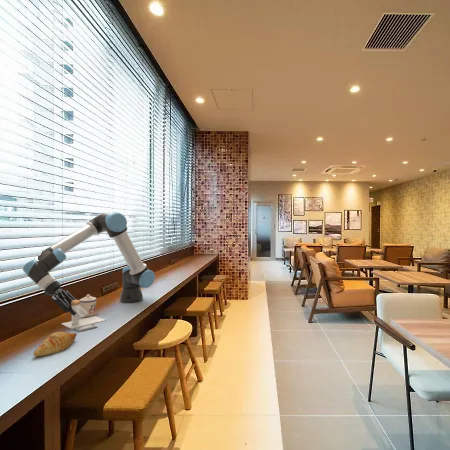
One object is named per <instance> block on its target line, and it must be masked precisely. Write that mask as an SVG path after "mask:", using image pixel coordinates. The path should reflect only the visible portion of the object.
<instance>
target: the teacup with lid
mask: <svg viewBox="0 0 450 450" xmlns="http://www.w3.org/2000/svg"><path fill="white" fill-rule="evenodd" d="M79 300H80V304H79V305H80V306H81V307H82V308H83V309H84V310H85V311H86V312H87V314H86V315H85V316H84V317H83V318H88V317H93V316H96V315H97V301H98V300H97V297H95V296H92V295H91V294H89V293H88V294H86V296H84V297H82V298H80V299H79Z"/></svg>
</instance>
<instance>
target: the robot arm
mask: <svg viewBox="0 0 450 450" xmlns="http://www.w3.org/2000/svg"><path fill="white" fill-rule="evenodd" d="M127 224H128V220H127V218H126V216H125V215H124V214H123V213H120V212H116V211H112V212H103V213H101V214H100V213H99V214H98V215H97V216H95V217H93V218H92V219H90V220H89V221H87V222H86V224H85V225H84V226H82V227H81V228H79V229H77V230H75V231H74V232H72V233H70V234H68V235H67V236H66V237H64V238H62V239H60V240H59V241H57V242H55V243H54V244H52V245H50V246H48V247H47V248H45V249H43V250H41V251H42V253H41V255H40V256H38V260H39V261H36V260H35V259H31V260H30V261H28V262H26V263H25V264H24V266H23V267H22V271H23V272H24V273H25V274H26V276H27V277H28V278H29V279H31V280H32V281H33V282H34V283H35V284H36V285H37V286H38V288H39V289H41V290H42V291H44V293H45V294H46V295H47V296H48V297H49V296H52V297H51V298H50V299H51V300H52V301H53V302H54V303H55V304H56V305H57V306H59V308H60V309H61V310H63V312H65V313H66V314H68V313H70V314H71V316H72V315H73V316H74V317H75V318H76V319H77V320H78V321H79V320H80V319H83V318H85V317H84V316H85V315H86V314H87V312H86V311H85V310H84V309H83V308H82V307H81V306H80V304H79V312H78V311H77V310H75V309H74V308H72V305H71V301H73V300H77V298H75V296H73V295H72V293H70V292H69V290H67V289H63V288H61V287H62V283H60V281H58V280H56V278H55V277H54V276H53V275H52V274H51V273H50V272H51V271H52V270H53V269H55V268H56V267H57V266H59V265H61V264H62V263H63V262H64V261H65V260H67V254H66V253H67V252H69V251H70V250H73V249H74V248H76V247H77V246H79V245H80V244H83V242H85V241H87V240H88V239H90V238H91V237H93V236H97V235H99V234H102V233H105V232H107V235H108V237H109V238H111V239H113V240H114V242H115V244H116V246H117V248H118V249H119V251H120V254H121V255H122V257H123V258H124V260H125V262H126V265H127V266H128V267H127V266H126V267H123V268H122V273H121V274H122V275H121V276H122V290H121V292H120V295H119V296H120V297H119V301H120V302H121V303H127V304H128V303H130V304H131V303H138V302H141V301H143V300H144V296H143V292H142V290H141V288H142V289H144V288H145V289H148V288H150V287H152V285H153V284H154V283H155V280H156V274H155V272H154V271H153V270H151V269H149V267H148V265H147V264H146V263H144V262H143V261H142V260H141V257H140V255H139V253H138V252H137V249H136V247H135V245H134V244H133V242H132V240H131V238H130V236H129V233H128V226H127Z"/></svg>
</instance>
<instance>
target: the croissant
mask: <svg viewBox="0 0 450 450" xmlns="http://www.w3.org/2000/svg"><path fill="white" fill-rule="evenodd" d="M76 337H77V333H76V332H75V333H74V332H66V331H56V332H52V333H50V334H49V335H48V336H46V338H45V339H44V340H43V341H42V342H41V344H40V345H38V347H37V349H36V350H34V351H33V357H38V358H39V357H42V356H47V355H53V354H56V353H60V352H62V351H64V350H65V349H68V347H70V346H71V344H72V343H73V342H74V341H75V340H76Z"/></svg>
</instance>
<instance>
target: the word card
mask: <svg viewBox="0 0 450 450" xmlns="http://www.w3.org/2000/svg"><path fill="white" fill-rule="evenodd" d="M97 328H98V326H97V325H96V324H90V325H85V326H81V327H77V328H73V331H75V332H77V333H83V332H85V331H88V330H89V331H90V330H94V329H97Z"/></svg>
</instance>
